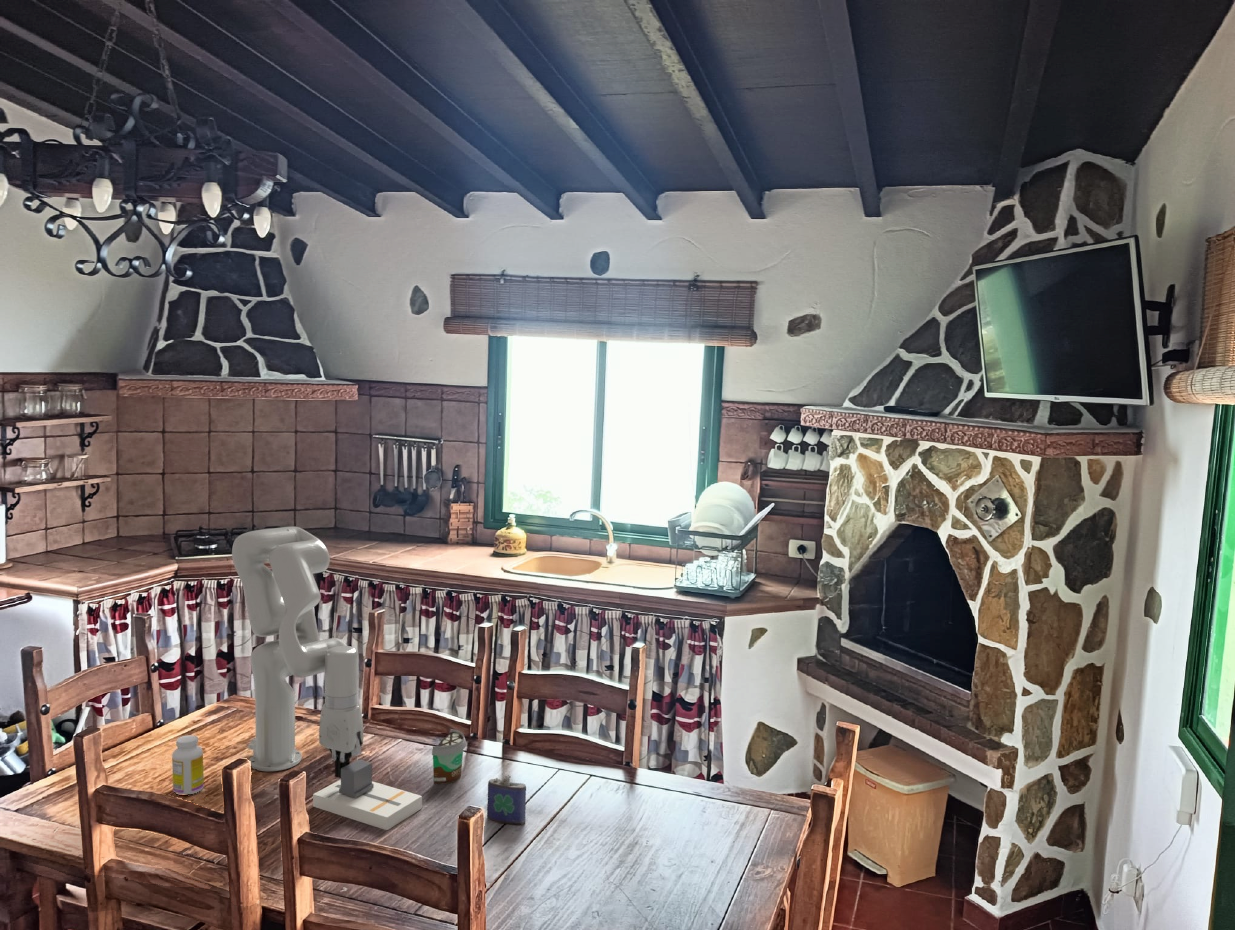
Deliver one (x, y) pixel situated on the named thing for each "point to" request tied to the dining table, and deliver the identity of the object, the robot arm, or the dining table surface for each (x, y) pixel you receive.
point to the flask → (506, 801)
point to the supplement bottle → (187, 766)
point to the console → (370, 804)
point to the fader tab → (356, 778)
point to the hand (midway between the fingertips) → (342, 775)
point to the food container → (448, 758)
